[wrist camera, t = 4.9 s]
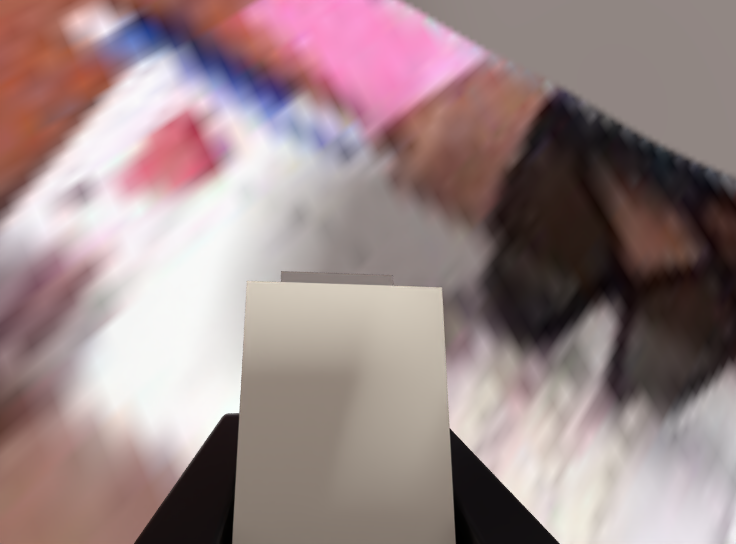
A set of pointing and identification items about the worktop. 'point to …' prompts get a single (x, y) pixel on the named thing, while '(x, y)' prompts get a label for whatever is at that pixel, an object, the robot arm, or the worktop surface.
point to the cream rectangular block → (343, 414)
